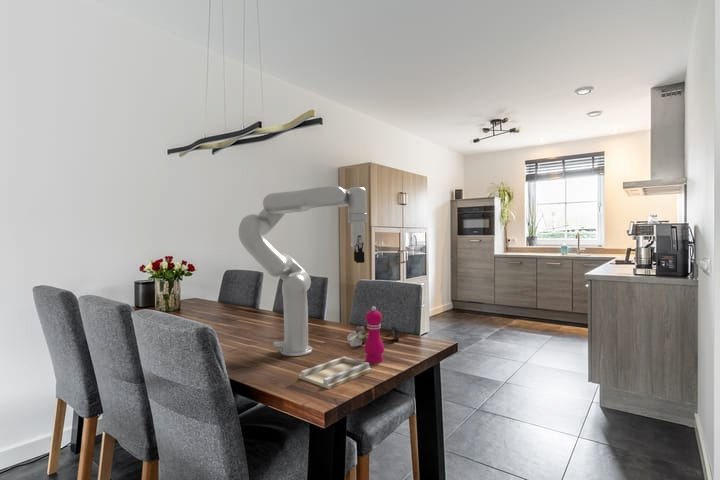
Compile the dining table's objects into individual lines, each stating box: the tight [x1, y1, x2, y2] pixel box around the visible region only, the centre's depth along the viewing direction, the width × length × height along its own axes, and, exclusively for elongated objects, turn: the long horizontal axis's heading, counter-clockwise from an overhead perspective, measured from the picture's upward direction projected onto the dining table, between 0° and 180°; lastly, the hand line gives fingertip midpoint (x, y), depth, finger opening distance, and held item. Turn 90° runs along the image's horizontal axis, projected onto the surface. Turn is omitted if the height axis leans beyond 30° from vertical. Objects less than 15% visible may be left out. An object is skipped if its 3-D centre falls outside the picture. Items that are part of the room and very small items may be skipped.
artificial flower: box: [346, 325, 400, 347], centre depth 165 cm, size 9×22×10 cm, turn 103°
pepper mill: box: [364, 306, 385, 364], centre depth 141 cm, size 7×7×20 cm
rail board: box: [298, 356, 373, 390], centre depth 127 cm, size 20×14×2 cm
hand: (359, 261), depth 152 cm, fingers open, 9 cm apart
